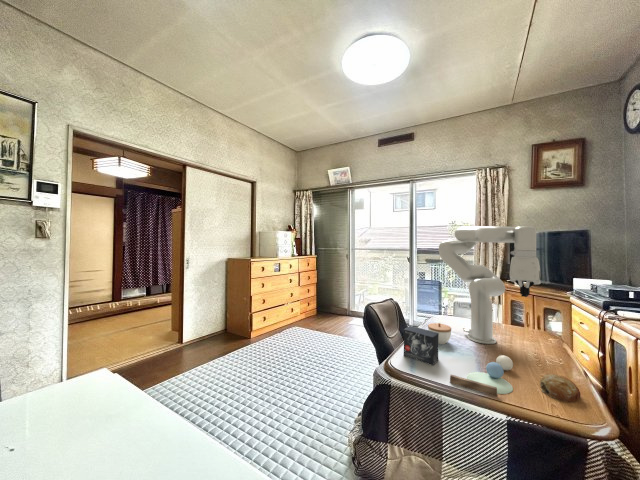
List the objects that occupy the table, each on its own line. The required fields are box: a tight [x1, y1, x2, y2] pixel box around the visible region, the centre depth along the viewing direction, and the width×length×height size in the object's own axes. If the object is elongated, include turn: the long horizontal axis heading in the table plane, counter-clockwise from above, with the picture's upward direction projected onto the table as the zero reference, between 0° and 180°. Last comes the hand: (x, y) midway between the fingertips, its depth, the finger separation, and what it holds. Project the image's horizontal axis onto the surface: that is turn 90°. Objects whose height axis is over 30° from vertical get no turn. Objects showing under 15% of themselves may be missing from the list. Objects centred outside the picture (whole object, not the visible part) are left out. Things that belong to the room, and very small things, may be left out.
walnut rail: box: [449, 374, 498, 397], centre depth 91 cm, size 14×1×2 cm, turn 54°
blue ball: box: [485, 361, 505, 378], centre depth 98 cm, size 6×6×6 cm
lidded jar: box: [427, 322, 452, 345], centre depth 132 cm, size 11×11×9 cm
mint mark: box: [466, 371, 514, 395], centre depth 94 cm, size 14×14×1 cm
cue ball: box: [495, 354, 514, 371], centre depth 104 cm, size 6×6×6 cm
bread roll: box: [539, 373, 581, 404], centre depth 88 cm, size 10×10×8 cm
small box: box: [403, 325, 439, 366], centre depth 114 cm, size 13×7×12 cm, turn 46°
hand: (524, 296), depth 114 cm, fingers closed
